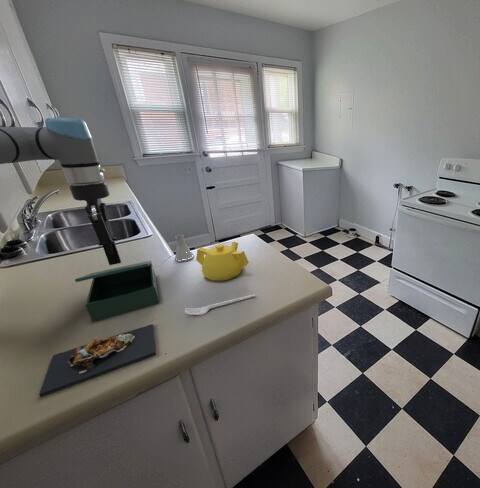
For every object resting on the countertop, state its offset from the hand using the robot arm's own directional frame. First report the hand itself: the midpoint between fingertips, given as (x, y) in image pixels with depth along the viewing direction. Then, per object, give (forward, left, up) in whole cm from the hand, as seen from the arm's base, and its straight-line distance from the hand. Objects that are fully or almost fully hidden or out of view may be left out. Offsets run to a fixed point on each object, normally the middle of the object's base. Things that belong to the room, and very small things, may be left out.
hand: (115, 263), depth 80 cm
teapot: (+31, +2, -13) cm, 34 cm away
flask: (+19, +22, -13) cm, 32 cm away
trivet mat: (-4, -25, -13) cm, 28 cm away
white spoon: (+24, -20, -13) cm, 34 cm away
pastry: (-4, -24, -12) cm, 27 cm away
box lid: (0, +2, -4) cm, 4 cm away
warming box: (0, +2, -13) cm, 13 cm away
